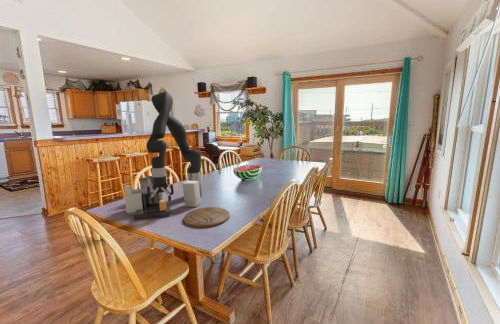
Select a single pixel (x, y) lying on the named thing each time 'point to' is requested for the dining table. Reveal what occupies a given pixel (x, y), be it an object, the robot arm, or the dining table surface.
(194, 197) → the skincare box
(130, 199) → the sliding door
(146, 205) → the dark grey stand
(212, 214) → the trivet
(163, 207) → the fader
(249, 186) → the dining table surface
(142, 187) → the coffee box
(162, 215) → the console
